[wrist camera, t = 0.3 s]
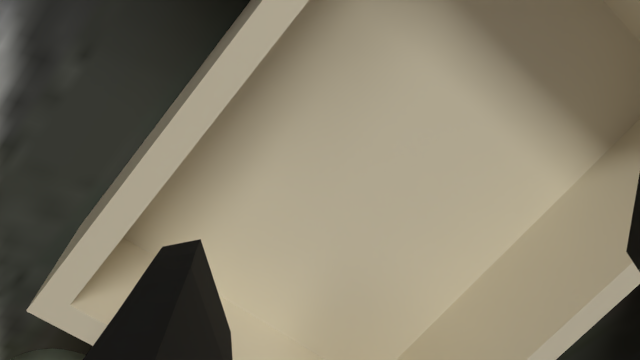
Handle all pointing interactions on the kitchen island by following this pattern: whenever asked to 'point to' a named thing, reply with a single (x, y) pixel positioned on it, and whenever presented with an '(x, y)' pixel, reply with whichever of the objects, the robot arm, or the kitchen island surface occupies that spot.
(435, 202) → the box
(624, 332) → the kitchen island surface
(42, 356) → the sage cylinder
